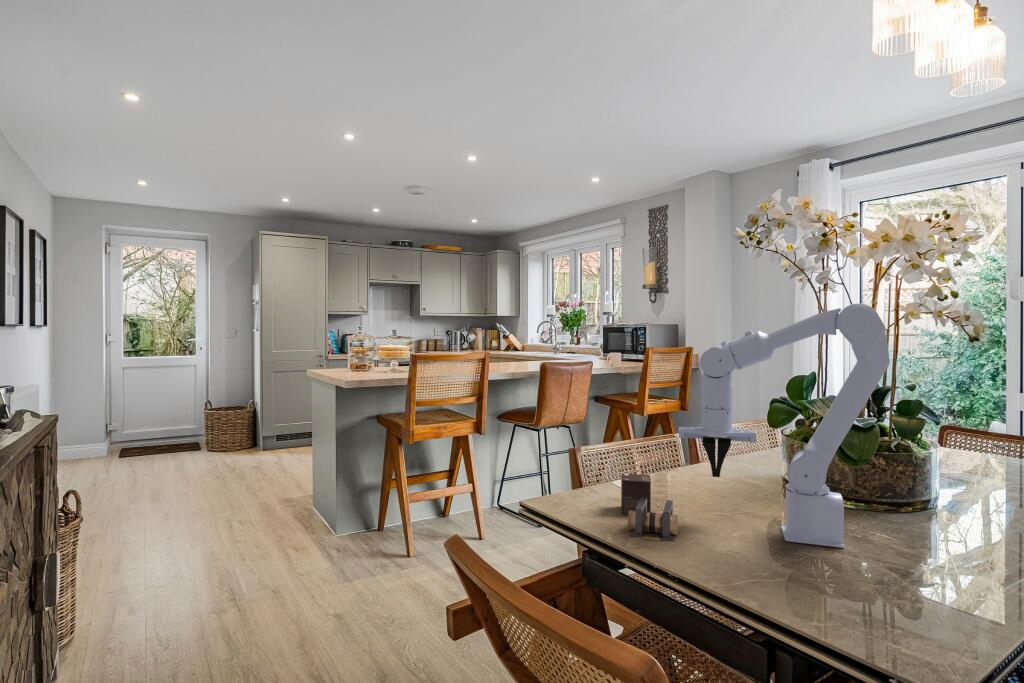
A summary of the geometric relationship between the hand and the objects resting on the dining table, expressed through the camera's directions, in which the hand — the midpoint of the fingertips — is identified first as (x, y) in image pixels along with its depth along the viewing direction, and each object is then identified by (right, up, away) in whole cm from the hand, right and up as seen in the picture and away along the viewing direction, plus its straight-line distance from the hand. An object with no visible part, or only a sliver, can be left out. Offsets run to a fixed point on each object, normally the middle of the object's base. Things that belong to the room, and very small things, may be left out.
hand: (716, 475), depth 116 cm
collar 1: (-16, -9, -4) cm, 19 cm away
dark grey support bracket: (-11, -9, -5) cm, 16 cm away
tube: (-14, -9, -5) cm, 17 cm away
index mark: (-15, -10, -9) cm, 20 cm away
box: (-14, -10, +7) cm, 19 cm away
